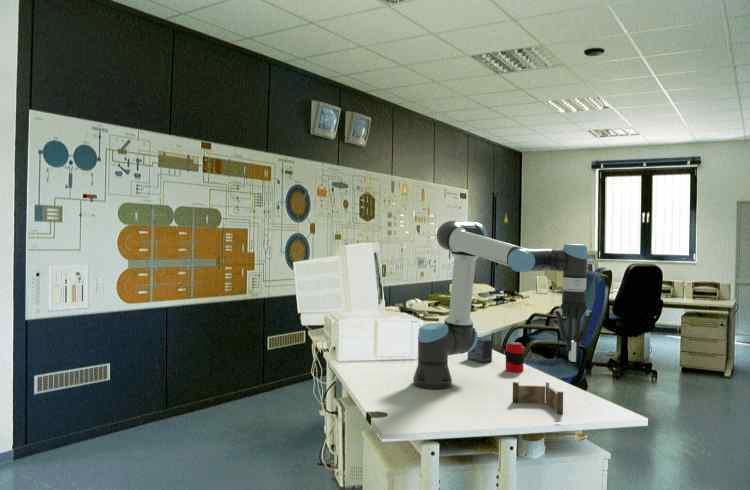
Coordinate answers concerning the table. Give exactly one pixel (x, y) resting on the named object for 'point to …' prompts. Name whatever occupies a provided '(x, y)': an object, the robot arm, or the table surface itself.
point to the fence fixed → (528, 393)
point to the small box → (481, 351)
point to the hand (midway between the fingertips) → (572, 360)
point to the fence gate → (554, 399)
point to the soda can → (514, 357)
